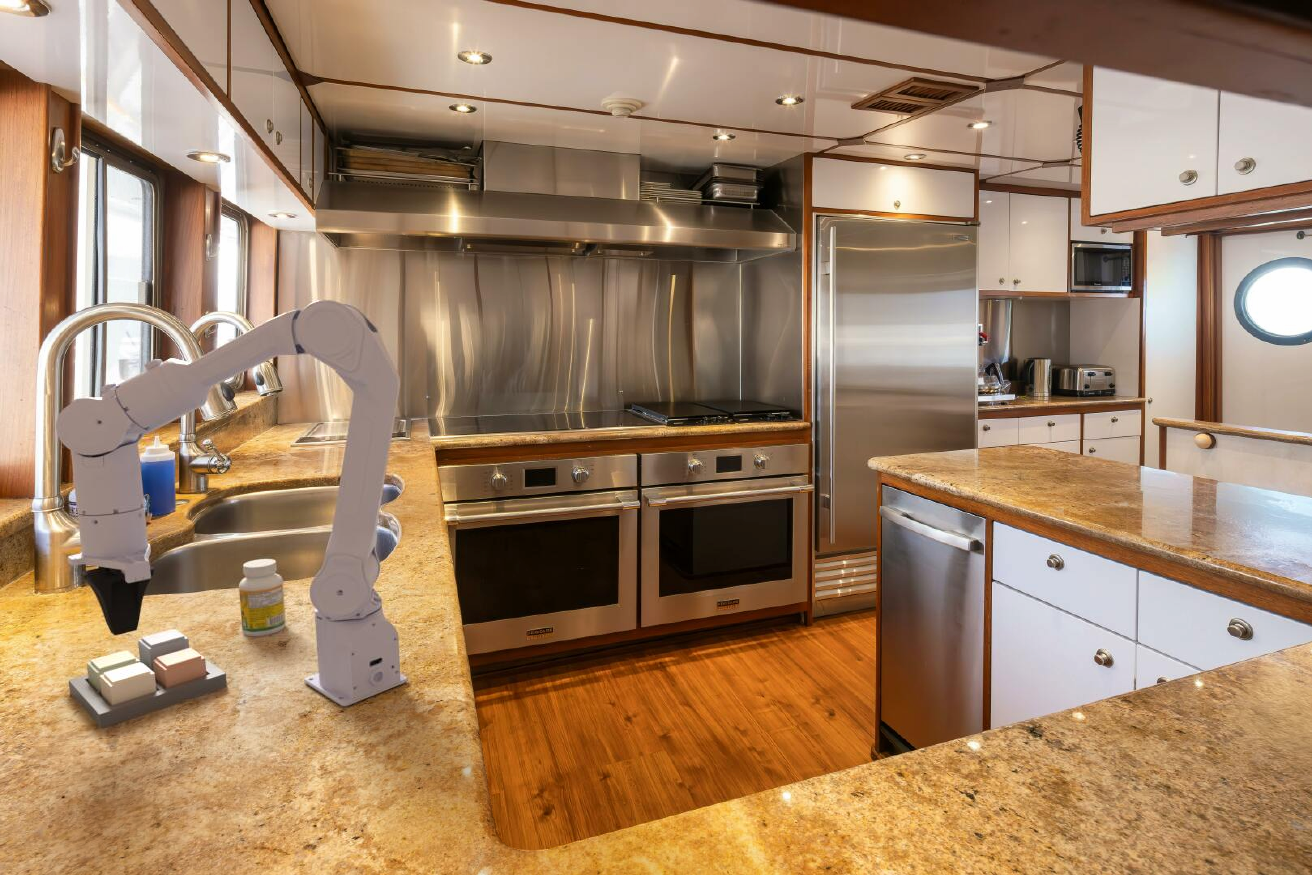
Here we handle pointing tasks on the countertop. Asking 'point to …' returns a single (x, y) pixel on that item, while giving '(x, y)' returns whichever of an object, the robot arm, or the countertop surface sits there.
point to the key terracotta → (179, 667)
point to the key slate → (161, 646)
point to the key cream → (127, 683)
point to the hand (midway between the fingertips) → (124, 631)
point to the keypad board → (143, 697)
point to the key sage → (108, 666)
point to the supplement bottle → (261, 598)
